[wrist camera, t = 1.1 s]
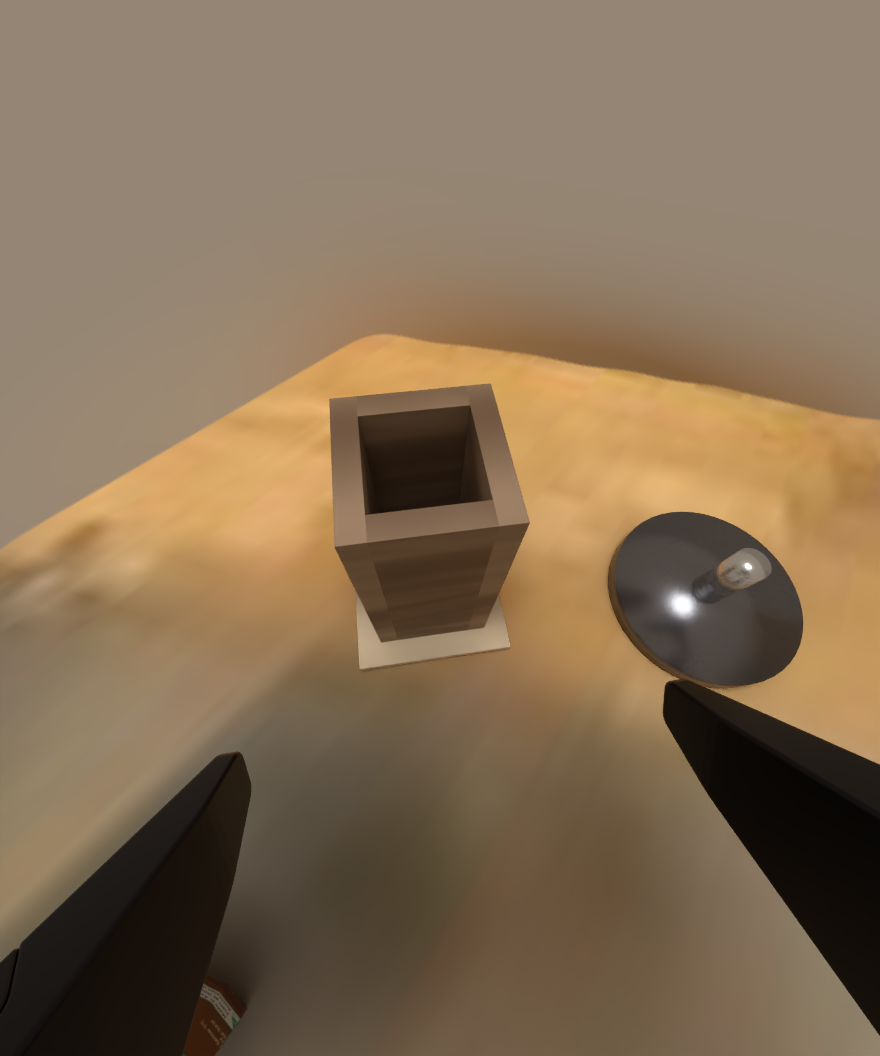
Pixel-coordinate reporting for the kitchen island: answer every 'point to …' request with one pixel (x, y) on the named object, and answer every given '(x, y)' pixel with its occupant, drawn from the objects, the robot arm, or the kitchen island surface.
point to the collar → (425, 507)
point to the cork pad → (428, 642)
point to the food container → (213, 1018)
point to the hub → (705, 600)
